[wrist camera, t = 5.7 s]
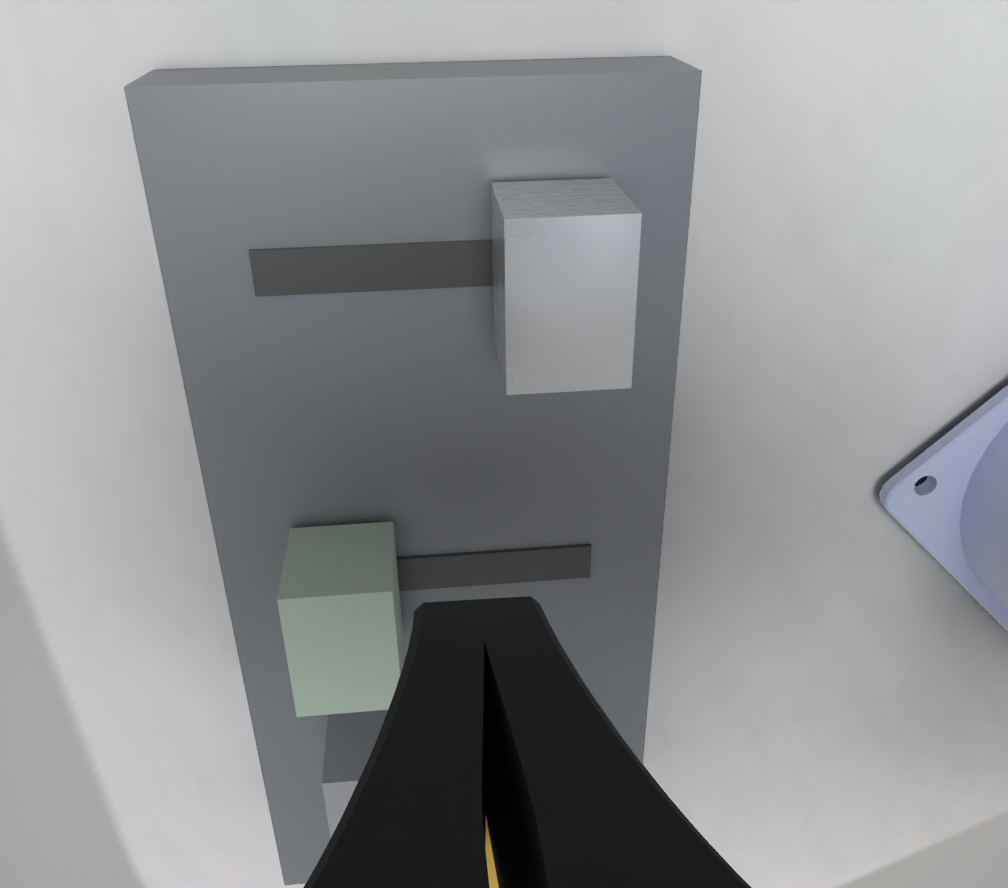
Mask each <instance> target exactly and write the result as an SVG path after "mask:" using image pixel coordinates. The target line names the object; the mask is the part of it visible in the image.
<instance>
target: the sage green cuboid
mask: <svg viewBox="0 0 1008 888" xmlns="http://www.w3.org/2000/svg"><path fill="white" fill-rule="evenodd" d="M277 603H278V609H279V615H280V621H281V627H282V633H283V639H284V645H285V651H286V657H287V663H288V669H289V674H290V680H291V686H292V692H293V698H294V704H295V710H296V716H297V717H304V716H316V715H328V714H341V713H353V712H365V711H377V710H388V709H389V706H390V704H391V701H392V698H393V696H394V693H395V690H396V687H397V684H398V681H399V678H400V674H401V671H402V668H403V629H402V618H401V606H400V594H399V583H398V571H397V560H396V548H395V536H394V525H393V522H378V523H363V524H348V525H333V526H318V527H303V528H290V531H289V536H288V542H287V547H286V553H285V558H284V564H283V569H282V575H281V580H280V586H279V591H278V596H277Z"/></svg>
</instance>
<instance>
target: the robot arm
mask: <svg viewBox="0 0 1008 888" xmlns="http://www.w3.org/2000/svg"><path fill="white" fill-rule="evenodd" d="M924 476H928V477H927V479H926V480H925V482H924V483H922V484H921V485H919V486H915V483H916V482H917V481H918V480H919V479H920V478H922V477H924ZM879 499H880V502H881V503H882V505H883V507H884V508H885V509H886V510H887V511H888V512H889V513H890V514H891V515H892V516H893V517H894V518H895V519H896V520H897V521H898V522H899V523H900V524H901V525H902V526H903V527H904V528H905V529H906V530H907V531H908V532H909V533H910V534H911V535H912V536H913V537H914V538H915V539H916V540H917V541H918V542H919V543H920V544H921V545H922V546H923V547H924V548H925V549H926V550H927V551H928V552H929V553H930V554H931V555H932V556H933V557H934V558H935V559H936V560H937V561H938V562H939V563H940V564H941V565H942V566H943V567H944V568H945V569H946V570H947V571H948V572H949V573H950V574H951V575H952V576H953V577H954V578H955V579H956V580H957V581H958V582H959V583H960V584H961V585H962V586H963V587H964V588H965V589H966V590H967V591H968V592H969V593H970V594H971V595H972V596H973V597H974V598H975V599H976V600H977V601H978V602H979V603H980V604H981V605H982V606H983V607H984V608H985V609H986V610H987V611H988V612H989V613H990V614H991V615H992V616H993V617H994V618H995V619H996V620H997V621H998V622H999V623H1000V624H1001V625H1002V626H1003V627H1004V628H1005V629H1006V630H1007V631H1008V385H1007V386H1006V387H1004V388H1003V389H1002V390H1000V391H999V392H998V393H997V394H995V395H994V396H993V397H992V398H990V399H989V400H988V401H987V402H985V403H984V404H983V405H982V406H980V407H979V408H978V409H977V410H975V411H974V412H973V413H972V414H970V415H969V416H968V417H967V418H965V419H964V420H963V421H962V422H960V423H959V424H958V425H957V426H955V427H954V428H953V429H951V430H950V431H949V432H948V433H946V434H945V435H944V436H943V437H941V438H940V439H939V440H938V441H936V442H935V443H934V444H933V445H931V446H930V447H929V448H928V449H926V450H925V451H924V452H923V453H921V454H920V455H919V456H918V457H916V458H915V459H914V460H913V461H911V462H910V463H909V464H908V465H906V466H905V467H904V468H902V469H901V470H900V471H899V472H897V473H896V474H895V475H894V476H892V477H891V478H890V479H889V480H888V481H887V482H886V483H885V484H884V485H883V486H882V488H881V491H880V493H879ZM486 819H487V825H488V831H489V836H490V842H491V847H492V853H493V858H494V864H495V869H496V875H497V881H498V886H499V888H751V887H750V886H749V885H748V884H747V883H746V882H745V881H744V880H743V879H742V878H741V877H740V876H739V875H738V874H737V873H736V872H735V871H734V870H733V869H732V867H731V866H730V865H729V864H728V863H727V862H726V861H725V860H724V859H723V858H722V857H721V856H720V855H719V853H718V852H717V851H716V850H715V849H714V848H713V847H712V846H711V845H710V844H709V843H708V842H707V841H706V839H705V838H704V837H703V836H702V835H701V834H700V833H699V832H698V831H697V829H696V828H695V827H694V826H693V825H692V824H691V823H690V821H689V820H688V819H687V818H686V817H685V816H684V815H683V813H682V812H681V811H680V810H679V809H678V807H677V806H676V805H675V804H674V803H673V802H672V800H671V799H670V798H669V797H668V796H667V794H666V793H665V792H664V791H663V789H662V788H661V787H660V786H659V784H658V783H657V782H656V781H655V779H654V778H653V777H652V776H651V774H650V773H649V772H648V771H647V769H646V768H645V767H644V766H643V764H642V763H641V762H640V761H639V759H638V758H637V757H636V755H635V754H634V753H633V751H632V750H631V749H630V747H629V746H628V745H627V743H626V742H625V741H624V739H623V738H622V737H621V735H620V734H619V732H618V731H617V729H616V728H615V727H614V725H613V724H612V722H611V721H610V720H609V718H608V717H607V715H606V714H605V712H604V711H603V710H602V708H601V707H600V705H599V704H598V702H597V701H596V700H595V698H594V697H593V695H592V694H591V692H590V691H589V689H588V688H587V686H586V685H585V683H584V682H583V680H582V678H581V677H580V675H579V674H578V672H577V670H576V669H575V667H574V666H573V664H572V662H571V661H570V659H569V657H568V656H567V654H566V652H565V651H564V649H563V647H562V646H561V644H560V642H559V640H558V639H557V637H556V635H555V633H554V631H553V629H552V628H551V626H550V624H549V622H548V620H547V618H546V616H545V614H544V612H543V609H542V607H541V605H540V604H539V603H538V602H537V601H536V600H535V599H534V598H532V597H531V596H525V597H508V598H491V599H474V600H457V601H439V602H424V603H423V604H421V605H420V606H419V607H418V608H417V609H416V610H415V611H414V617H413V627H412V632H411V637H410V642H409V646H408V650H407V654H406V658H405V661H404V665H403V668H402V671H401V674H400V678H399V681H398V684H397V687H396V690H395V693H394V696H393V698H392V701H391V704H390V706H389V709H388V712H387V714H386V717H385V719H384V722H383V725H382V727H381V730H380V733H379V735H378V738H377V740H376V743H375V745H374V748H373V750H372V752H371V755H370V757H369V759H368V761H367V764H366V766H365V768H364V770H363V772H362V774H361V777H360V779H359V781H358V783H357V785H356V787H355V789H354V792H353V794H352V796H351V798H350V800H349V802H348V805H347V807H346V809H345V811H344V813H343V815H342V817H341V819H340V821H339V823H338V825H337V827H336V829H335V831H334V833H333V835H332V837H331V839H330V841H329V843H328V845H327V846H326V848H325V850H324V852H323V854H322V856H321V858H320V859H319V861H318V863H317V865H316V867H315V868H314V870H313V872H312V874H311V875H310V877H309V879H308V881H307V883H306V884H305V886H304V888H490V887H489V878H488V869H487V859H486V850H485V848H486Z"/></svg>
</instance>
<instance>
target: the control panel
mask: <svg viewBox="0 0 1008 888" xmlns="http://www.w3.org/2000/svg"><path fill="white" fill-rule="evenodd" d="M701 75H702V71H701V70H699V69H697V68H695V67H693V66H690V65H688V64H686V63H684V62H682V61H680V60H678V59H675V58H673V57H671V56H650V57H613V58H575V59H537V60H499V61H461V62H423V63H385V64H347V65H310V66H272V67H234V68H196V69H158V70H153V71H151V72H149V73H147V74H146V75H144V76H142V77H140V78H139V79H137V80H135V81H133V82H132V83H130V84H128V85H126V86H125V87H124V90H125V95H126V100H127V105H128V110H129V115H130V120H131V125H132V129H133V134H134V139H135V144H136V149H137V154H138V159H139V164H140V169H141V174H142V179H143V184H144V189H145V194H146V199H147V204H148V209H149V214H150V219H151V224H152V229H153V234H154V239H155V244H156V249H157V254H158V259H159V264H160V268H161V273H162V278H163V283H164V288H165V293H166V298H167V303H168V308H169V313H170V318H171V323H172V328H173V333H174V338H175V343H176V348H177V353H178V358H179V363H180V368H181V373H182V378H183V383H184V388H185V393H186V398H187V403H188V407H189V412H190V417H191V422H192V427H193V432H194V437H195V442H196V447H197V452H198V457H199V462H200V467H201V472H202V477H203V482H204V487H205V492H206V497H207V502H208V507H209V512H210V517H211V522H212V527H213V532H214V537H215V541H216V546H217V551H218V556H219V561H220V566H221V571H222V576H223V581H224V586H225V591H226V596H227V601H228V606H229V611H230V616H231V621H232V626H233V631H234V636H235V641H236V646H237V651H238V656H239V661H240V666H241V671H242V676H243V680H244V685H245V690H246V695H247V700H248V705H249V710H250V715H251V720H252V725H253V730H254V735H255V740H256V745H257V750H258V755H259V760H260V765H261V770H262V775H263V780H264V785H265V790H266V795H267V800H268V805H269V810H270V815H271V819H272V824H273V829H274V834H275V839H276V844H277V849H278V854H279V859H280V864H281V869H282V874H283V879H284V884H285V885H292V884H303V883H307V881H308V879H309V877H310V875H311V874H312V872H313V870H314V868H315V867H316V865H317V863H318V861H319V859H320V858H321V856H322V854H323V852H324V850H325V848H326V846H327V845H328V843H329V841H330V839H331V837H332V835H333V833H334V831H335V829H336V827H337V825H338V823H339V821H340V819H341V817H342V815H343V813H344V811H345V809H346V807H347V805H348V802H349V800H350V798H351V796H352V794H353V792H354V789H355V787H356V785H357V783H358V781H359V779H360V777H361V774H362V772H363V770H364V768H365V766H366V764H367V761H368V759H369V757H370V755H371V752H372V750H373V748H374V745H375V743H376V740H377V738H378V735H379V733H380V730H381V727H382V725H383V722H384V719H385V717H386V714H387V712H388V710H377V711H365V712H353V713H341V714H328V715H316V716H304V717H297V716H296V710H295V704H294V698H293V692H292V686H291V680H290V674H289V669H288V663H287V657H286V651H285V645H284V639H283V633H282V627H281V621H280V615H279V609H278V603H277V596H278V591H279V586H280V580H281V575H282V569H283V564H284V558H285V553H286V547H287V542H288V536H289V531H290V528H303V527H318V526H333V525H348V524H363V523H378V522H393V525H394V536H395V548H396V560H397V571H398V583H399V594H400V606H401V618H402V629H403V665H404V661H405V658H406V654H407V650H408V646H409V642H410V637H411V632H412V627H413V617H414V611H415V610H416V609H417V608H418V607H419V606H420V605H421V604H423V603H424V602H439V601H457V600H474V599H491V598H508V597H525V596H531V597H532V598H534V599H535V600H536V601H537V602H538V603H539V604H540V605H541V607H542V609H543V612H544V614H545V616H546V618H547V620H548V622H549V624H550V626H551V628H552V629H553V631H554V633H555V635H556V637H557V639H558V640H559V642H560V644H561V646H562V647H563V649H564V651H565V652H566V654H567V656H568V657H569V659H570V661H571V662H572V664H573V666H574V667H575V669H576V670H577V672H578V674H579V675H580V677H581V678H582V680H583V682H584V683H585V685H586V686H587V688H588V689H589V691H590V692H591V694H592V695H593V697H594V698H595V700H596V701H597V702H598V704H599V705H600V707H601V708H602V710H603V711H604V712H605V714H606V715H607V717H608V718H609V720H610V721H611V722H612V724H613V725H614V727H615V728H616V729H617V731H618V732H619V734H620V735H621V737H622V738H623V739H624V741H625V742H626V743H627V745H628V746H629V747H630V749H631V750H632V751H633V753H634V754H635V755H636V757H637V758H638V759H639V761H640V762H641V763H642V764H643V753H644V742H645V730H646V718H647V707H648V695H649V683H650V672H651V660H652V648H653V636H654V625H655V613H656V601H657V590H658V578H659V566H660V555H661V543H662V531H663V520H664V508H665V496H666V485H667V473H668V461H669V449H670V438H671V426H672V414H673V403H674V391H675V379H676V368H677V356H678V344H679V333H680V321H681V309H682V298H683V286H684V274H685V262H686V251H687V239H688V227H689V216H690V204H691V192H692V181H693V169H694V157H695V146H696V134H697V122H698V111H699V99H700V87H701ZM597 178H612V179H613V180H614V182H615V183H616V184H617V185H618V186H619V187H620V189H621V190H622V191H623V192H624V193H625V194H626V196H627V197H628V198H629V199H630V200H631V201H632V203H633V204H634V205H635V206H636V207H637V208H638V210H639V211H640V212H641V213H642V219H641V236H640V252H639V269H638V285H637V302H636V319H635V335H634V352H633V369H632V385H631V388H626V389H608V390H590V391H572V392H554V393H536V394H518V395H506V391H505V386H504V382H503V378H502V373H501V369H500V365H499V360H498V356H497V352H496V347H495V343H494V314H493V263H492V212H491V182H516V181H543V180H570V179H597Z"/></svg>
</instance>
